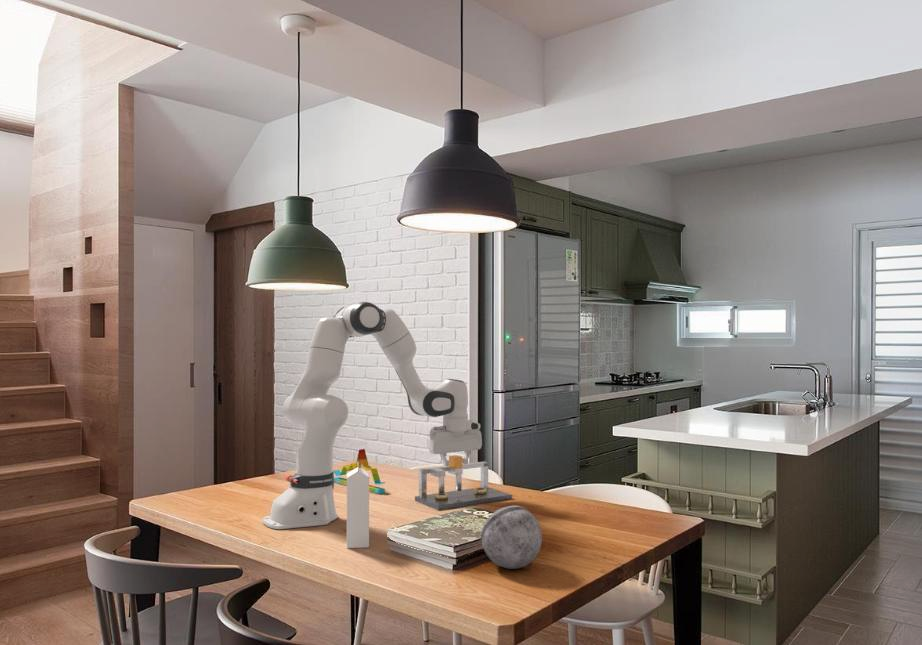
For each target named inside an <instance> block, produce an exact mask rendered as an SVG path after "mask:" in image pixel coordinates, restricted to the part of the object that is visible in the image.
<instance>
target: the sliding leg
mask: <svg viewBox="0 0 922 645" xmlns="http://www.w3.org/2000/svg"><path fill="white" fill-rule="evenodd" d="M462 458H463V456H460V455H456V454H454V455H448V461H449V467H448V471H447V472H448V474H450V475H454V476H455V491H462V490H463V489H462V488H463V487H462V486H463V484H462V483H463V481H462V480H463V478H462V477H463V476H462V475H463V470H464V469H463V468H462V464H463V463H462Z"/></svg>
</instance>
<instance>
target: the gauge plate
mask: <svg viewBox="0 0 922 645" xmlns="http://www.w3.org/2000/svg"><path fill="white" fill-rule="evenodd" d="M448 467H449V466H443V465H442V466H434V467H424V468H418V495H415V496H414V501H415V502H416V503H419V504H421V505H425V506H427V507H430V508H432V509H434V510H436V511H437V510H438V511H441V510H443V511H444V510H449V509H454V508H460V507H461V508H462V507H467V506H468V507H469V506H475V505H480V504H485V503H486V504H487V503H495V502H499V501H507V500H511V499H512V498H513V494H511V493H508V492H504V491H501V490H498V489H495V488H492V487H489V461H485V460H484V461H477V462H468V464H463V463H462V468H463V470H470V469H477V468H480V487H474V488H465V489H462V491H456V490H453V491H445V477H446V472H448ZM427 474H430V475H431V476H432V477H436V478H438V492H437V493H429V494H428V490H427V489H428V488H427V487H428V485H427V484H428V483H427Z"/></svg>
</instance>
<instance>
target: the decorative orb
mask: <svg viewBox="0 0 922 645" xmlns="http://www.w3.org/2000/svg"><path fill="white" fill-rule="evenodd" d="M480 541H481V544H482V548H483V550H484V552H485V554H486V556H487V557H488V558H489V559H490V561H492V562H493V563H494V564H495V565H497V566H499V567H500V568H505V569H508V570H509V569H510V570H513V569H515V570H516V569H521V568H524V567H526V566H527V565H530V563H532V562H533V561H534V560H535V559H536V557H537V556H538V554H539V553H540V551H541V547H542V542H543V533H542V528H541V526H540V523H539V520H537V518H536V517H535V515H534V514H533V513H531V512H530V511H529V510H528V509H527V508H525V507H523V506H520V505H509V506H504V507H501V508H498V509H496V511H494V512H493V513H491V514H490V516H488V517H487V519H486V521H485V522H484V523H483V526H482V528H481V531H480Z"/></svg>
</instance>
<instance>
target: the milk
mask: <svg viewBox="0 0 922 645" xmlns="http://www.w3.org/2000/svg"><path fill="white" fill-rule="evenodd" d="M346 479H347V486H346V549H360V548H362V549H363V548H369V547H370V492H369V485H370V474H369V472H368V471H367V470H364V469H363V468H361V469H360V468H359V467H357V468H356V469H354V470H351V471H348V472H347V473H346Z"/></svg>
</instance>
